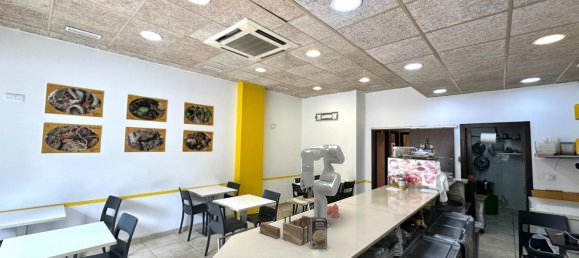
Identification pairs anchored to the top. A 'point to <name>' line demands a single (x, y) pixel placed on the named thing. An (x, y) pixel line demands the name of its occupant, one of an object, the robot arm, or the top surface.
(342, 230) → the top surface
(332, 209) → the pink lumpy piece
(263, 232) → the plank
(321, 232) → the coffee box
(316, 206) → the robot arm
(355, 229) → the top surface
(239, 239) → the top surface
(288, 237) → the open wooden box
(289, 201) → the lid
